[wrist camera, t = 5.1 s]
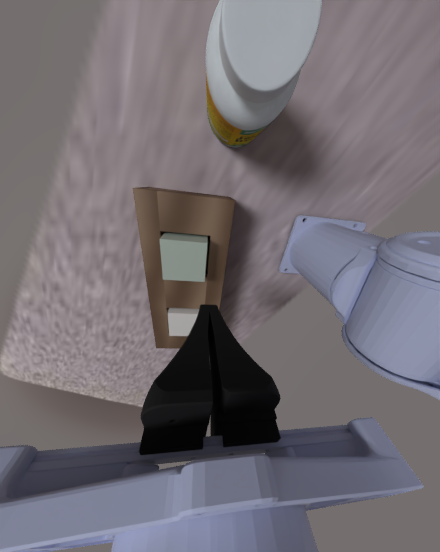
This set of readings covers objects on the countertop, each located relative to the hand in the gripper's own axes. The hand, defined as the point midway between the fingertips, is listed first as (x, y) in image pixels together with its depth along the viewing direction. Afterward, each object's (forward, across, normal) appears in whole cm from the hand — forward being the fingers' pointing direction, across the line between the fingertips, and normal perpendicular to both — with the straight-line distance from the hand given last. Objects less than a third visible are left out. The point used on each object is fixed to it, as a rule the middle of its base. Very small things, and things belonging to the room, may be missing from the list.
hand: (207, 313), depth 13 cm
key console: (+10, +2, +3) cm, 11 cm away
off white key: (+9, +2, +8) cm, 12 cm away
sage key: (+8, +2, -2) cm, 9 cm away
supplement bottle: (+10, -2, -15) cm, 19 cm away
